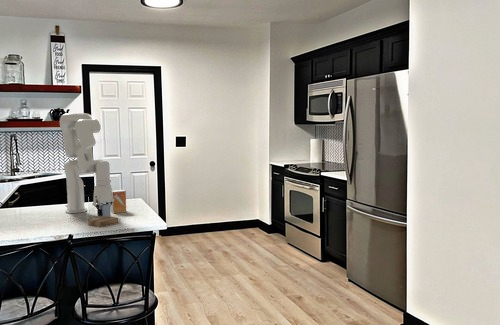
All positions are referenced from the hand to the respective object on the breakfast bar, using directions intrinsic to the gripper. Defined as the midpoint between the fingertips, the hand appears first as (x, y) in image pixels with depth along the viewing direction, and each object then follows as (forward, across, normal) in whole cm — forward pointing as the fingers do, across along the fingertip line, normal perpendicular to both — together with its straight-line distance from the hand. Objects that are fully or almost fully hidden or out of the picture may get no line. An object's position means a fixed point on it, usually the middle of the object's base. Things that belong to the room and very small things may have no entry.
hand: (104, 214), depth 263 cm
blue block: (+1, 0, 0) cm, 1 cm away
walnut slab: (+2, +10, +12) cm, 16 cm away
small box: (+3, -17, -7) cm, 19 cm away
